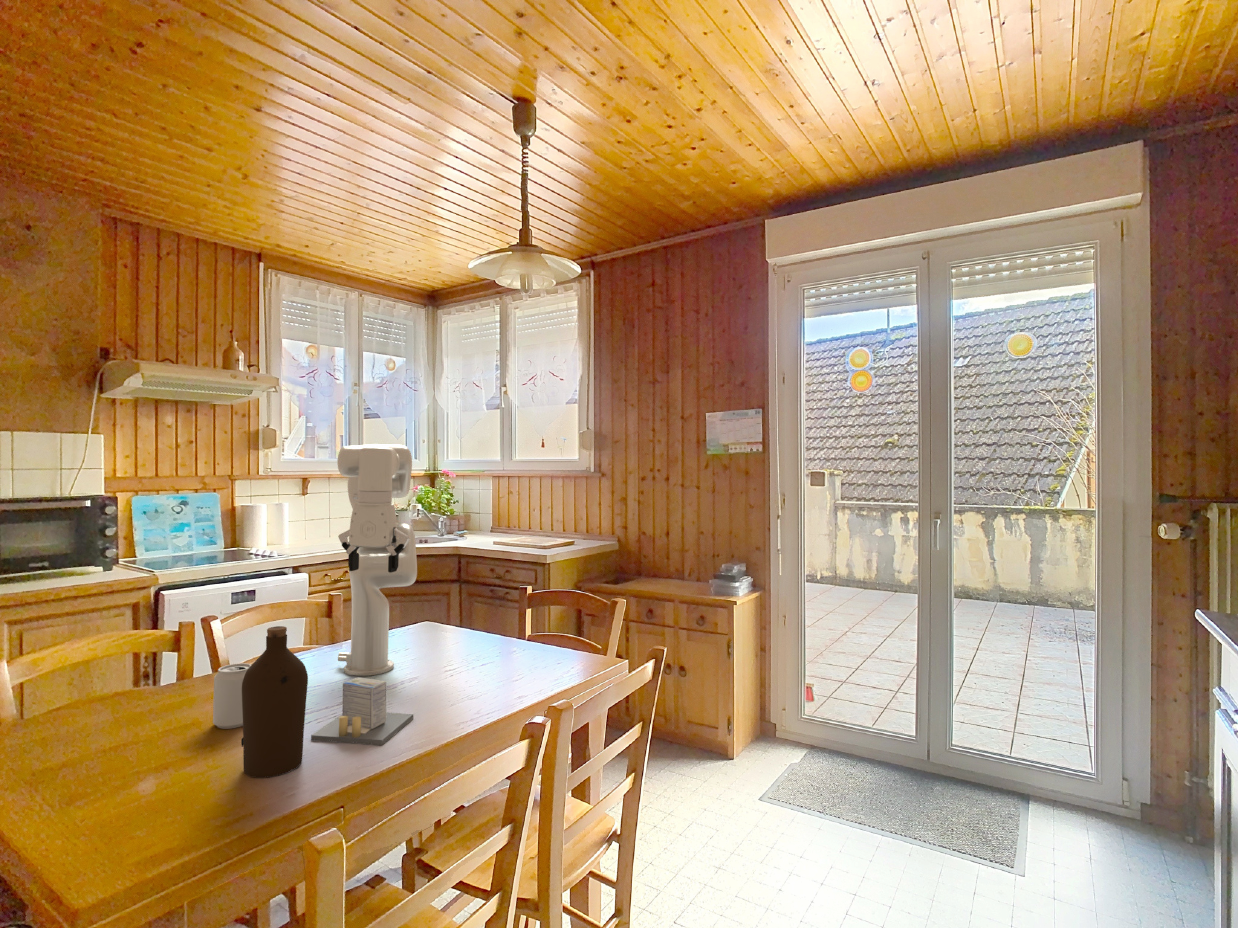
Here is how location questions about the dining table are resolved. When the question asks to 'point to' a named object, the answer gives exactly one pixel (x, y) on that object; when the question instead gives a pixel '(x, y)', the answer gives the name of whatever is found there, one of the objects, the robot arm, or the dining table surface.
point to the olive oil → (274, 709)
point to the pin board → (362, 730)
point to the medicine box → (365, 701)
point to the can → (229, 696)
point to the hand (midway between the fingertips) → (373, 570)
